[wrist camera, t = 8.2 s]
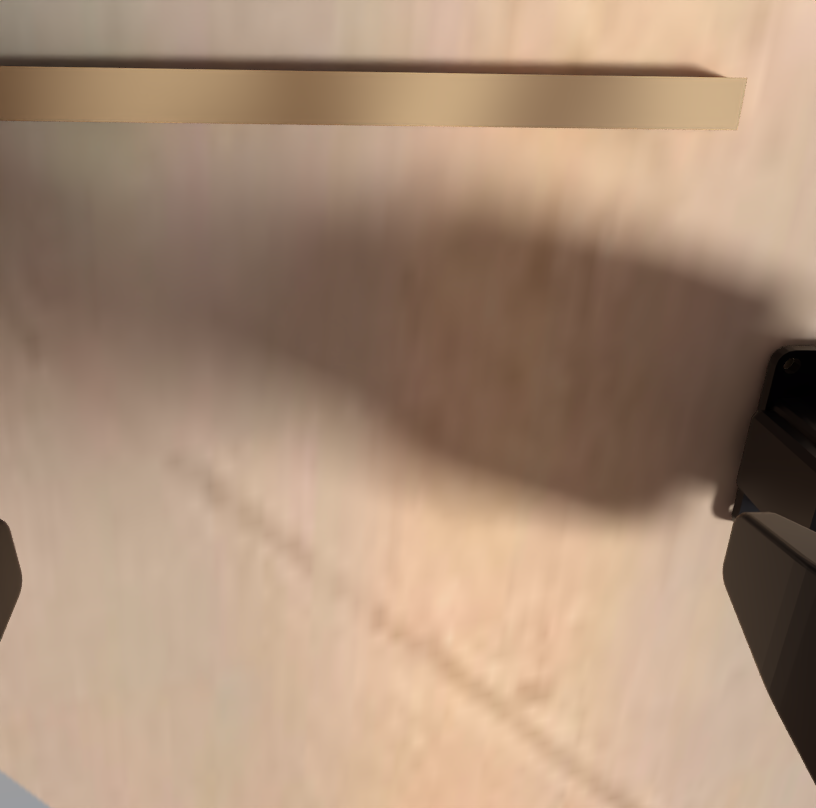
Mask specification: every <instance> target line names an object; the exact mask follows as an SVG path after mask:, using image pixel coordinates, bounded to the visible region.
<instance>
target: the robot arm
mask: <svg viewBox="0 0 816 808" xmlns="http://www.w3.org/2000/svg"><path fill="white" fill-rule="evenodd" d="M792 358H794V361H793V363H792V365H791V366H790V367H788V368H786V369H784V365H785V363H786V361H788V360H789V359H792ZM736 483H737V486H738V491H737V495H736V499H735V504H734V508H733V512H732V520H733V522H734V523H733V527H732V531H731V535H730V539H729V543H728V547H727V551H726V555H725V559H724V563H723V580H724V584H725V587H726V590H727V592H728V595H729V597H730V600H731V602H732V605H733V608H734V610H735V613H736V615H737V618H738V620H739V623H740V625H741V628H742V630H743V633H744V635H745V638H746V640H747V643H748V645H749V648H750V650H751V653H752V656H753V658H754V661H755V663H756V666H757V668H758V671H759V673H760V676H761V678H762V680H763V683H764V685H765V687H766V690H767V692H768V694H769V696H770V698H771V700H772V702H773V704H774V706H775V708H776V710H777V712H778V714H779V716H780V718H781V720H782V722H783V724H784V726H785V728H786V729H787V731H788V733H789V735H790V737H791V739H792V741H793V743H794V745H795V747H796V749H797V751H798V752H799V754H800V756H801V758H802V760H803V762H804V764H805V766H806V768H807V770H808V772H809V773H810V775H811V777H812V779H813V781H814V783H815V785H816V346H784V347H781V348H780V349H778V350H776V351H775V352H774V353H773V355H772V356H771V358H770V360H769V364H768V368H767V372H766V376H765V380H764V384H763V388H762V393H761V397H760V401H759V405H758V409H757V412H756V413H755V415H754V416H753V417H752V419H751V423H750V427H749V431H748V436H747V440H746V444H745V448H744V452H743V456H742V460H741V465H740V469H739V473H738V477H737V482H736ZM21 587H22V573H21V568H20V565H19V561H18V557H17V553H16V550H15V546H14V542H13V538H12V535H11V531H10V528H9V526H8V525H7V523H6V522H5V521H3V520H1V519H0V641H1V639H2V636H3V634H4V631H5V629H6V627H7V624H8V622H9V619H10V617H11V614H12V612H13V610H14V607H15V605H16V602H17V600H18V597H19V595H20V591H21Z"/></svg>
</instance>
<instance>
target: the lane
mask: <svg viewBox="0 0 816 808" xmlns="http://www.w3.org/2000/svg"><path fill="white" fill-rule="evenodd" d="M746 83H747V78H723V77H660V76H596V75H533V74H469V73H406V72H342V71H279V70H215V69H152V68H88V67H25V66H0V121H67V122H144V123H221V124H298V125H375V126H452V127H529V128H606V129H683V130H737V129H738V124H739V119H740V114H741V108H742V103H743V98H744V93H745V88H746Z"/></svg>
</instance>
